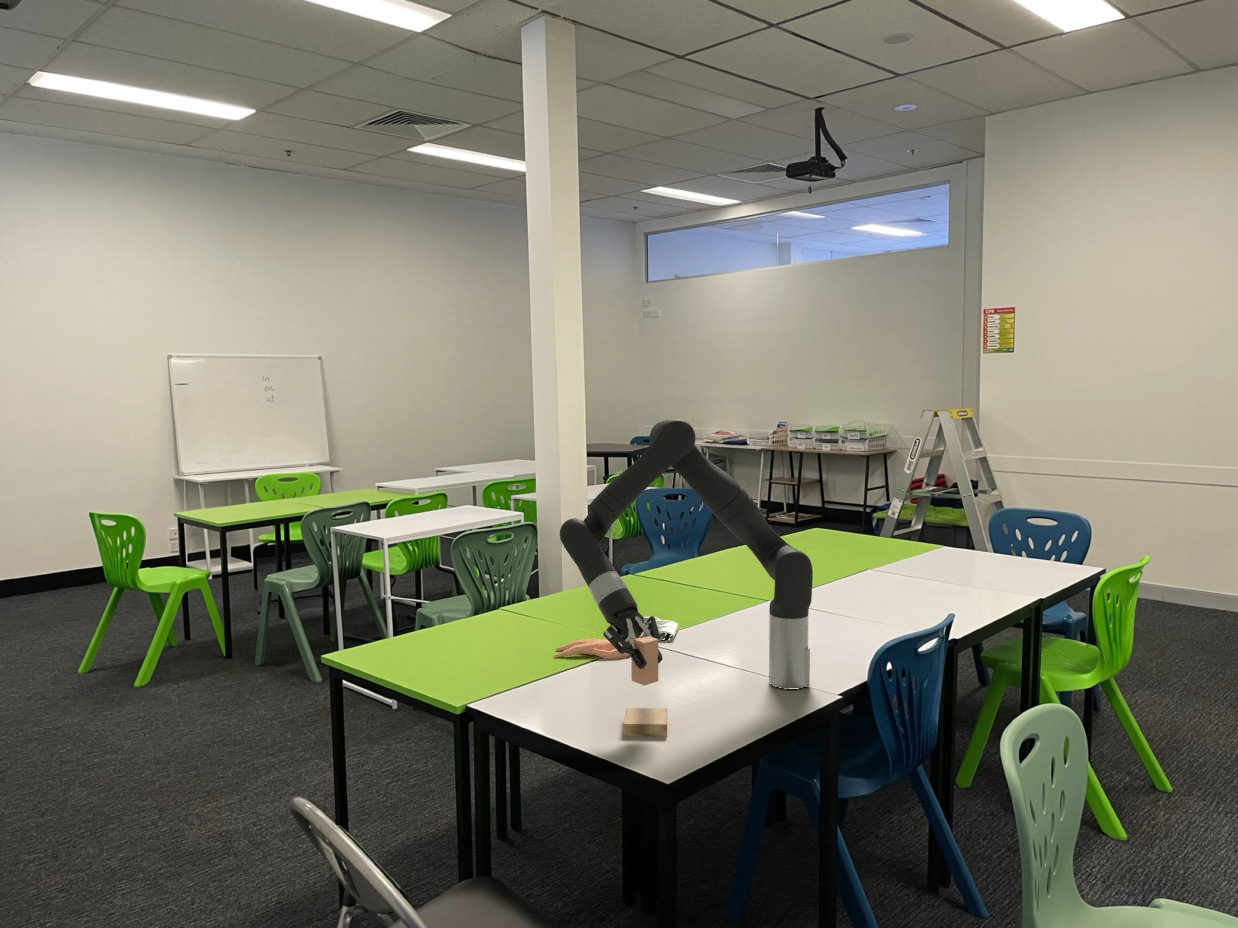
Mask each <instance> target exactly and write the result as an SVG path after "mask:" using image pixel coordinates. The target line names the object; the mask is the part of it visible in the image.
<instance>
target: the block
mask: <svg viewBox="0 0 1238 928" xmlns="http://www.w3.org/2000/svg"><path fill="white" fill-rule="evenodd" d="M634 641H635V643H636V644H637V649H639V650H640V652H641V654H642V655H643V657H644V659H645V660H646V662H647V665H646V666H645V667H644V668H643V669H639V667H637V666H636V665H635V663H634V661H633V659H632V657H631V656H630V658H631V681H632V682H634V683H636V684H639V685H642V686H647V685H651V684H653V683H657V682H659V664H658V649H659V641H658V639H656V638H653V637H649V636H641V637H637V638H635V640H634Z"/></svg>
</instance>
